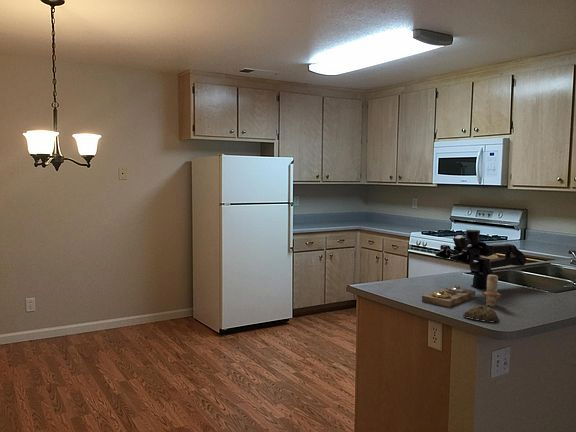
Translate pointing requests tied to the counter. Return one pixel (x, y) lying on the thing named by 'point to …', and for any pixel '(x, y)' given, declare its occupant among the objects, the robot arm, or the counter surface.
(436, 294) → the gear
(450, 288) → the gear
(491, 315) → the bread roll
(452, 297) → the gear board
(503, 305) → the counter surface
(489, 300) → the idler gear
